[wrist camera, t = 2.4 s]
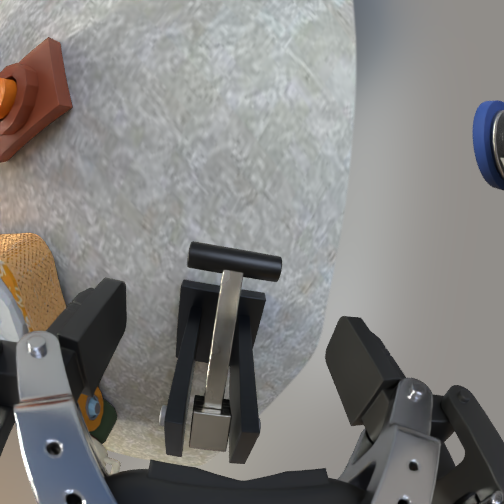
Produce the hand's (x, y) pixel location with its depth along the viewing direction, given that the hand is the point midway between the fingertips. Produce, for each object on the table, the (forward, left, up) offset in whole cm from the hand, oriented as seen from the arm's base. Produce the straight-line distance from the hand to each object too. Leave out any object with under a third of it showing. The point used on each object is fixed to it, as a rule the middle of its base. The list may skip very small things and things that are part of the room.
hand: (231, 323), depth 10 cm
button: (+14, -19, -9) cm, 26 cm away
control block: (+14, -19, -13) cm, 27 cm away
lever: (+3, +5, -5) cm, 7 cm away
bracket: (+4, +8, -13) cm, 15 cm away
